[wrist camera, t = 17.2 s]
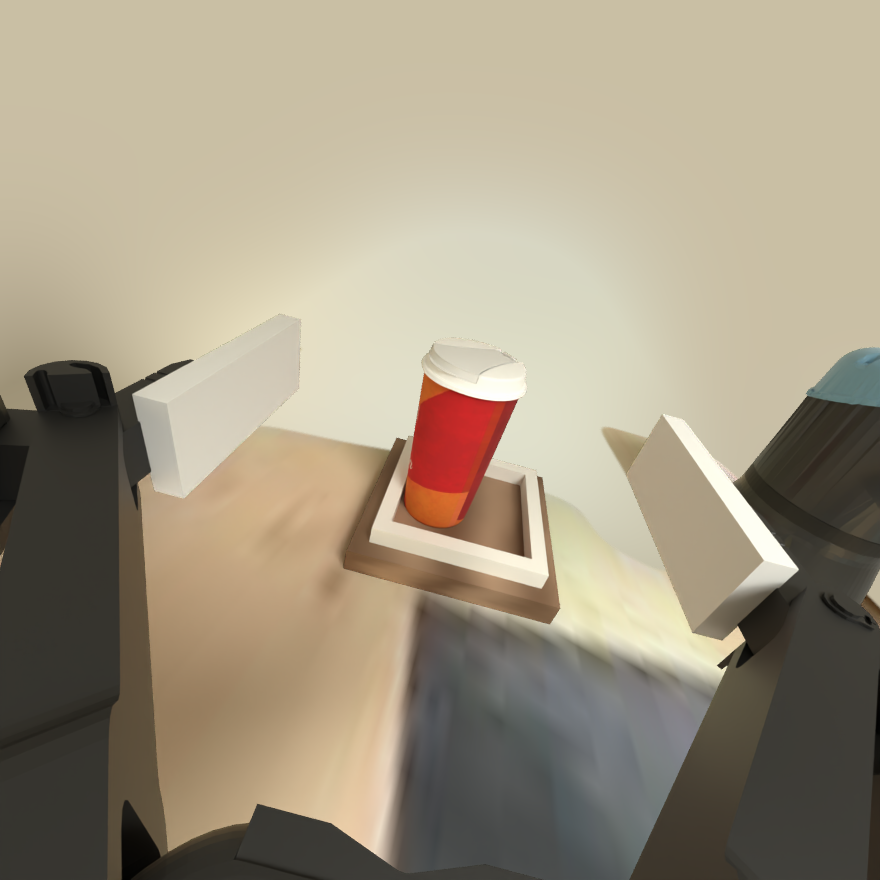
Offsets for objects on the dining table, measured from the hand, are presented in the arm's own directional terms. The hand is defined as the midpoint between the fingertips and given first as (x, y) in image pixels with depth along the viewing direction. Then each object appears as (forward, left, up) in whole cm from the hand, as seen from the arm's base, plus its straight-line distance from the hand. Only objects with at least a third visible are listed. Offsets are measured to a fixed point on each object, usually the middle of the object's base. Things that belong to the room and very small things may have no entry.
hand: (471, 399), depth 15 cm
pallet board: (-3, -14, -19) cm, 24 cm away
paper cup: (0, -14, -17) cm, 22 cm away
